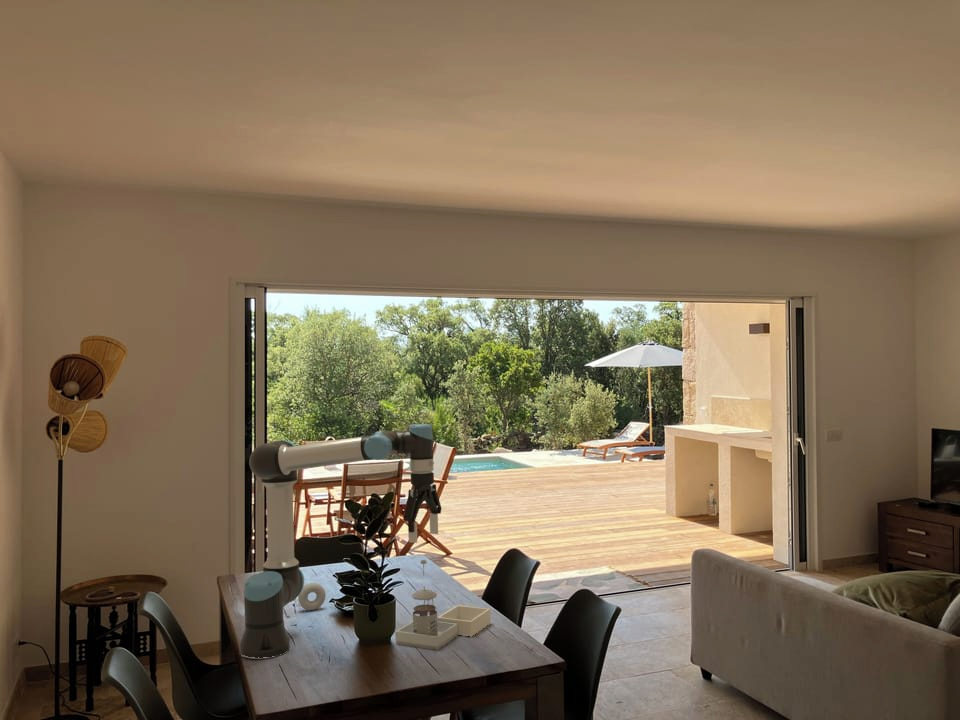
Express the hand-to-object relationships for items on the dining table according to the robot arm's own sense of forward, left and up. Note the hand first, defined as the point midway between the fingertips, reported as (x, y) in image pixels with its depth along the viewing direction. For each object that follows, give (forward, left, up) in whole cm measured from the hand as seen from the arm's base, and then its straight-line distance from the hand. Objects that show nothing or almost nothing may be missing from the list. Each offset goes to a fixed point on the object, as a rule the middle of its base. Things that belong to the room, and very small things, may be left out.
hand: (423, 538), depth 246 cm
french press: (0, 0, -32) cm, 32 cm away
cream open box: (+15, -6, -33) cm, 36 cm away
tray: (0, 0, -33) cm, 33 cm away
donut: (+13, +56, -33) cm, 66 cm away
